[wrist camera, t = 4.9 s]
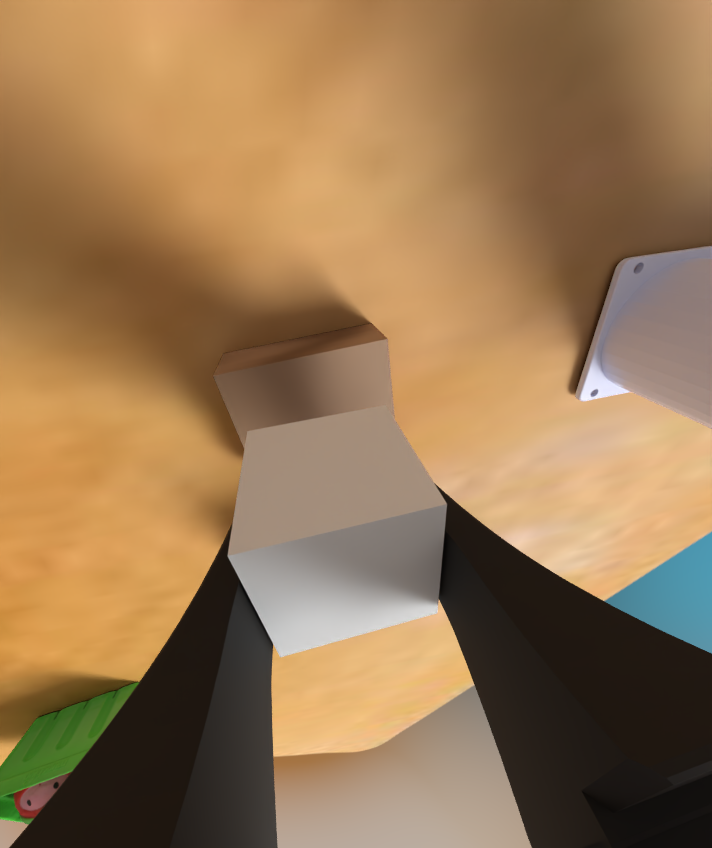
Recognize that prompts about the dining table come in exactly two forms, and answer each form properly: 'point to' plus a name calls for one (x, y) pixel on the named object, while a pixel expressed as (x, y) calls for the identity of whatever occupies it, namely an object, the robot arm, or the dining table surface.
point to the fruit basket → (53, 753)
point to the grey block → (336, 529)
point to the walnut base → (306, 378)
